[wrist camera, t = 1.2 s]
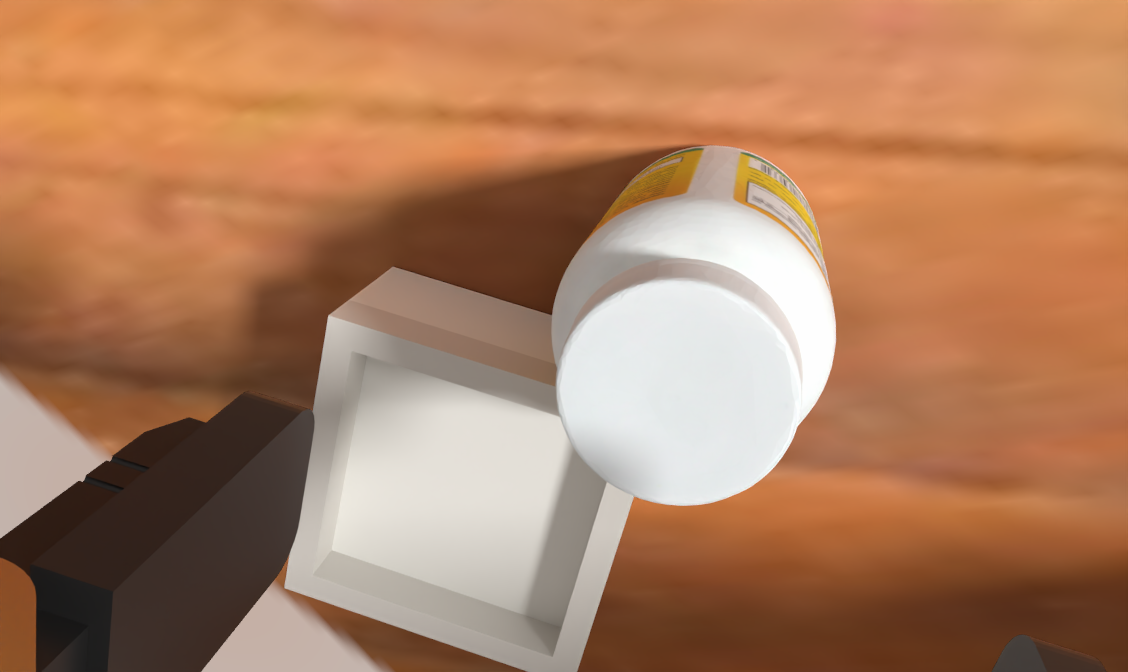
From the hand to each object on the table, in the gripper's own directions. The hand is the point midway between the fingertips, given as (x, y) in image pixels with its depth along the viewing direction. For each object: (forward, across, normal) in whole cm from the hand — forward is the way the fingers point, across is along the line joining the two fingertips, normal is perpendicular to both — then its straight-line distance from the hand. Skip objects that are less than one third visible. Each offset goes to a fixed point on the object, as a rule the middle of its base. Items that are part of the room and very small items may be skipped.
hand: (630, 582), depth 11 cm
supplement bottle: (+15, 0, 0) cm, 15 cm away
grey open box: (+15, +4, +7) cm, 17 cm away
